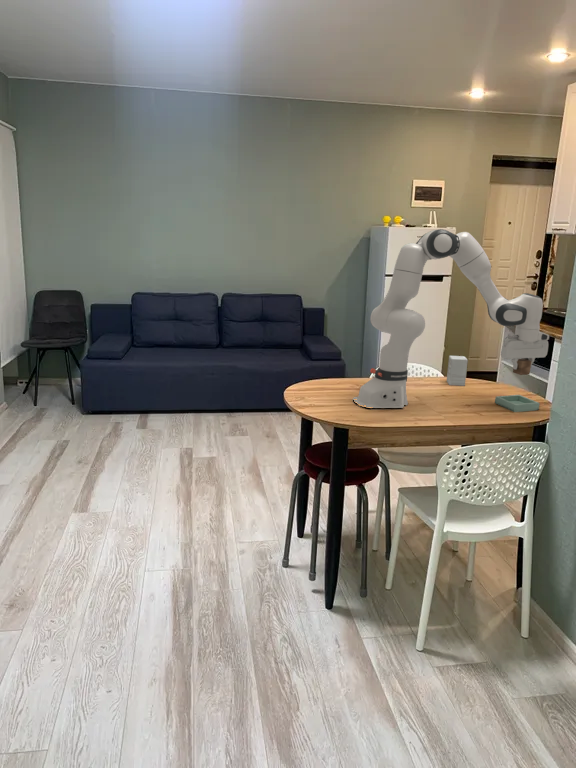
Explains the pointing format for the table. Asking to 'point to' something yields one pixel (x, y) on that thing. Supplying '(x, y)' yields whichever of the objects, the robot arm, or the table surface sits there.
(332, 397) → the table surface
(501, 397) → the sage tray
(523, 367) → the walnut block
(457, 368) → the supplement box
